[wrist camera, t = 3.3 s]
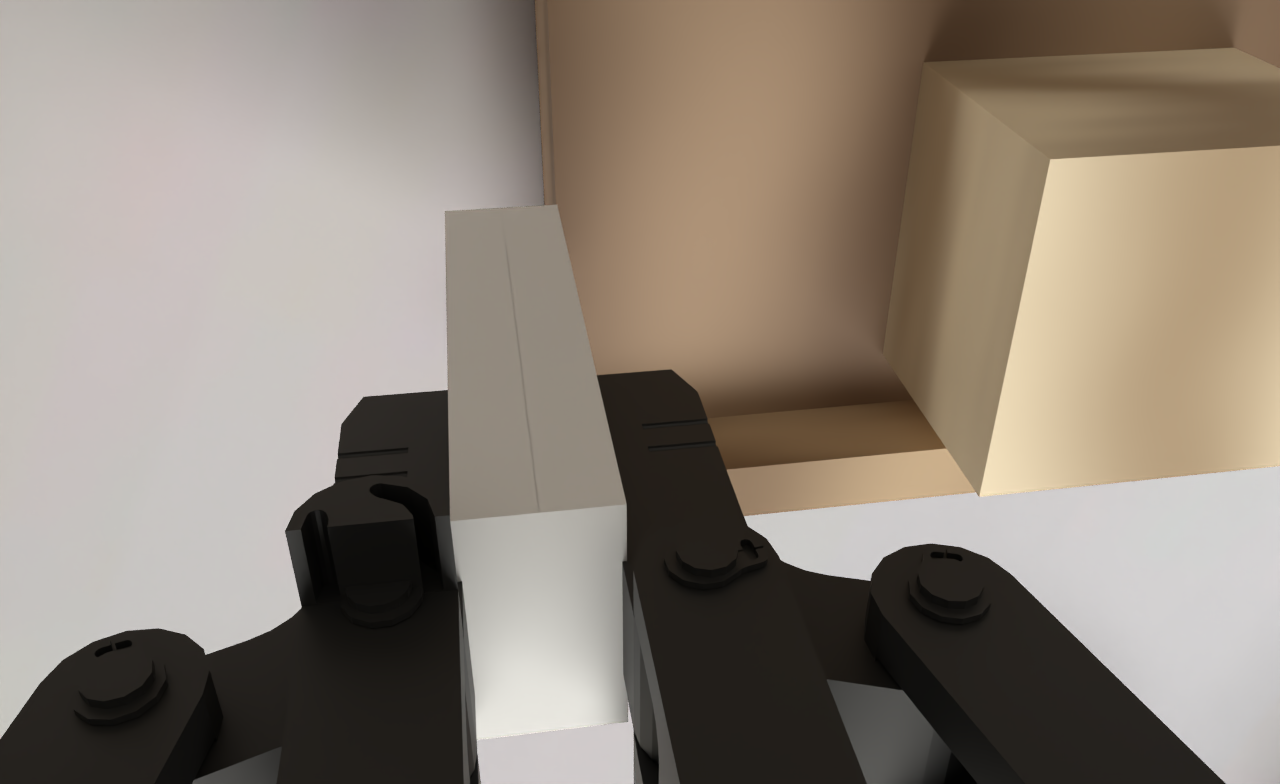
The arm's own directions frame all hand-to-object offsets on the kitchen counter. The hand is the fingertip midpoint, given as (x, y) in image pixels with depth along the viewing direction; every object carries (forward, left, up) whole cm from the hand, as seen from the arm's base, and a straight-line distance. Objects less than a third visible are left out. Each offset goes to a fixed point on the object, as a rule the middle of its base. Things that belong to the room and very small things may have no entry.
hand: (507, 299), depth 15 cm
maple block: (+9, 0, -2) cm, 9 cm away
